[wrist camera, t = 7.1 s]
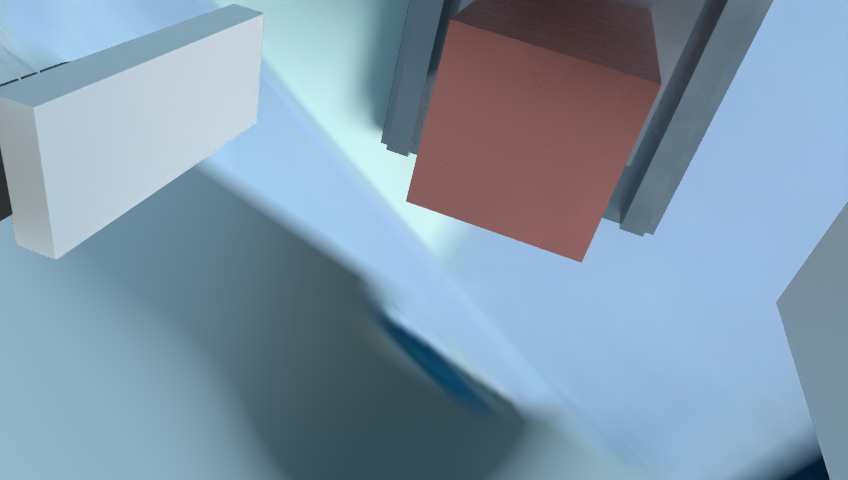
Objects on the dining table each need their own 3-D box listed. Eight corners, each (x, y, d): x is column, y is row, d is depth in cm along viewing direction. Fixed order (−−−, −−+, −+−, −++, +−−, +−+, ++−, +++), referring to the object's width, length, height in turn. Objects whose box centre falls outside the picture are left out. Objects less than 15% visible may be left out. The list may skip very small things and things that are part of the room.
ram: (502, -128, 22) (414, -130, 13) (725, -66, 21) (795, -23, 12) (448, 89, 27) (352, 199, 18) (630, 147, 26) (629, 296, 17)
